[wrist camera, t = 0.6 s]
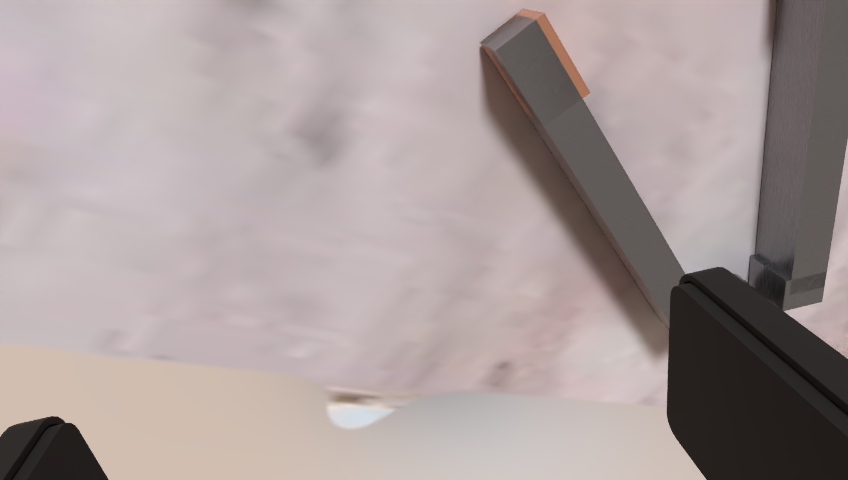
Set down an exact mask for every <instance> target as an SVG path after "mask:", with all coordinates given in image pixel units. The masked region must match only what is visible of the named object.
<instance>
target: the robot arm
mask: <svg viewBox="0 0 848 480" xmlns="http://www.w3.org/2000/svg"><path fill="white" fill-rule="evenodd" d="M667 418H668V422H669V425H670V428H671V430H672V432H673V434H674V435H675V437H676V439H677V440H678V441H679V443H680V444H681V446H682V447H683V448H684V450H685V451H686V452H687V454H688V455H689V456H690V458H691V459H692V460H693V462H694V463H695V464H696V466H697V467H698V469H699V470H700V471H701V473H702V474H703V475H704V477H705V478H706V479H707V480H848V359H847V358H846V357H844V356H843V355H842V354H840V353H839V352H838V351H836V350H835V349H834V348H832V347H831V346H829V345H828V344H827V343H825V342H824V341H823V340H821V339H820V338H819V337H817V336H816V335H815V334H813V333H812V332H811V331H809V330H808V329H807V328H805V327H804V326H802V325H801V324H800V323H798V322H797V321H796V320H794V319H793V318H792V317H790V316H789V315H788V314H786V313H785V312H784V311H782V310H781V309H780V308H778V307H777V306H775V305H774V304H773V303H771V302H770V301H769V300H767V299H766V298H765V297H763V296H762V295H761V294H759V293H758V292H757V291H755V290H754V289H753V288H751V287H750V286H748V285H747V284H746V283H744V282H743V281H742V280H740V279H739V278H738V277H736V276H735V275H734V274H732V273H731V272H730V271H728V270H727V269H725V268H723V267H716V268H711V269H707V270H702V271H698V272H693V273H689V274H685V275H683V276H682V277H681V279H680V281H679V285H678V286H675V287H673V288H672V290H671V294H670V322H669V356H668V390H667ZM0 480H108V478H107V476H106V475H105V473H104V472H103V470H102V468H101V466H100V465H99V463H98V461H97V460H96V458H95V457H94V455H93V453H92V451H91V450H90V448H89V446H88V445H87V443H86V441H85V440H84V438H83V437H82V435H81V433H80V432H79V430H78V429H77V427H76V426H75V425H73V424H72V423H65V422H64V421H63V420H62V419H61V418H59V417H53V416H51V417H47V418H42V419H38V420H34V421H29V422H24V423H20V424H16V425H13V426H11V427H9V428H8V429H7V430H6V431H5V432H4V433H3V434H2V435H1V437H0Z"/></svg>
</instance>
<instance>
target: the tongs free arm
mask: <svg viewBox="0 0 848 480" xmlns="http://www.w3.org/2000/svg"><path fill="white" fill-rule="evenodd" d="M480 43H481V45H482V46H483V48H484V49H485V51H486V52H487V54H488V55H489V57H490V58H491V60H492V62H493V63H494V65H495V66H496V68H497V69H498V71H499V72H500V74H501V75H502V77H503V79H504V80H505V82H506V83H507V85H508V86H509V88H510V89H511V91H512V92H513V94H514V95H515V97H516V99H517V100H518V102H519V103H520V105H521V106H522V108H523V109H524V111H525V112H526V114H527V116H528V117H529V119H530V120H531V122H532V123H533V125H534V126H535V128H536V129H537V131H538V132H539V134H540V136H541V137H542V139H543V140H544V142H545V143H546V145H547V146H548V148H549V149H550V151H551V153H552V154H553V156H554V157H555V159H556V160H557V162H558V163H559V165H560V166H561V168H562V169H563V171H564V173H565V174H566V176H567V177H568V179H569V180H570V182H571V183H572V185H573V186H574V188H575V190H576V191H577V193H578V194H579V196H580V197H581V199H582V200H583V202H584V203H585V205H586V207H587V208H588V210H589V211H590V213H591V214H592V216H593V217H594V219H595V220H596V222H597V223H598V225H599V227H600V228H601V230H602V231H603V233H604V234H605V236H606V237H607V239H608V240H609V242H610V244H611V245H612V247H613V248H614V250H615V251H616V253H617V254H618V256H619V257H620V259H621V260H622V262H623V264H624V265H625V267H626V268H627V270H628V271H629V273H630V274H631V276H632V277H633V279H634V281H635V282H636V284H637V285H638V287H639V288H640V290H641V291H642V293H643V294H644V296H645V297H646V299H647V301H648V302H649V304H650V305H651V307H652V308H653V310H654V311H655V313H656V314H657V316H658V318H659V319H660V320H661V321H662V322H663V323H664V324H665V326H666V327H667V328H668V329H669V322H670V294H671V290H672V288H673V287H675V286H678V285H679V281H680V279H681V277H682V276H683V275H685V273H684V271H683V269H682V268H681V266H680V264H679V262H678V261H677V259H676V257H675V256H674V254H673V252H672V250H671V249H670V247H669V245H668V244H667V242H666V240H665V239H664V237H663V235H662V233H661V232H660V230H659V228H658V227H657V225H656V223H655V221H654V220H653V218H652V216H651V215H650V213H649V211H648V210H647V208H646V206H645V204H644V203H643V201H642V199H641V198H640V196H639V194H638V193H637V191H636V189H635V187H634V186H633V184H632V182H631V181H630V179H629V177H628V175H627V174H626V172H625V170H624V169H623V167H622V165H621V164H620V162H619V160H618V158H617V157H616V155H615V153H614V152H613V150H612V148H611V146H610V145H609V143H608V141H607V140H606V138H605V136H604V135H603V133H602V131H601V129H600V128H599V126H598V124H597V123H596V121H595V119H594V117H593V116H592V114H591V112H590V111H589V109H588V107H587V106H586V104H585V102H584V100H583V99H582V98H584V97H585V96H586V95H588V94H589V93H590V92H589V90H588V88H587V86H586V85H585V83H584V81H583V79H582V78H581V76H580V74H579V72H578V71H577V69H576V67H575V66H574V64H573V62H572V60H571V59H570V57H569V55H568V53H567V52H566V50H565V48H564V46H563V45H562V43H561V41H560V39H559V38H558V36H557V34H556V33H555V31H554V29H553V27H552V26H551V24H550V22H549V20H548V19H547V17H546V15H545V13H541V12H537V11H532V10H527V9H522V10H521V11H520V12H519V13H517V14H516V15H515V16H513V17H512V18H511V19H510V20H508V21H507V22H506V23H505V24H503V25H502V26H501V27H499V28H498V29H497V30H496V31H494V32H493V33H492V34H490V35H489V36H488V37H487V38H485V39H484V40H483V41H481V42H480ZM734 275H735V276H736V277H738V278H739V279H740V280H742V281H743V282H744V283H746V284H747V285H748V286H750V287H751V288H753V289H754V290H755V291H757V290H756V289H755V288H754V287H752V286H751V285H750V284H748V283H747V282H746V281H745V280H743V279H742V278H741V277H739V276H738V275H736V274H734ZM757 292H758V293H759V294H761V293H760V292H759V291H757ZM761 295H762V294H761ZM762 296H763V297H765V296H764V295H762ZM765 298H766V297H765ZM766 299H767V300H769V299H768V298H766ZM769 301H770V300H769ZM770 302H771V301H770ZM771 303H773V302H771ZM773 304H774V303H773ZM774 305H775V304H774ZM775 306H777V305H775ZM777 307H778V306H777ZM778 308H779V307H778Z"/></svg>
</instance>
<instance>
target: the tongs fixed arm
mask: <svg viewBox="0 0 848 480" xmlns="http://www.w3.org/2000/svg"><path fill="white" fill-rule="evenodd" d="M847 139H848V0H777V11H776V22H775V34H774V45H773V57H772V69H771V80H770V92H769V103H768V115H767V126H766V138H765V149H764V161H763V173H762V184H761V196H760V207H759V219H758V230H757V242H756V253H755V255H753V256H750V268H749V281H748V284H750V285H751V286H752V287H754V288H755V289H756V290H757V291H759V292H760V293H761V294H762V295H764V296H765V297H766V298H768V299H769V300H770V301H771V302H773V303H774V304H775V305H777V306H778V307H779V308H780V309H781V310H782V311H786V310H790V309H794V308H798V307H802V306H806V305H811V304H815V303H819V302H822V298H823V292H824V285H825V279H826V273H827V266H828V260H829V254H830V247H831V241H832V234H833V228H834V222H835V215H836V209H837V202H838V196H839V190H840V183H841V177H842V171H843V164H844V158H845V151H846V145H847Z"/></svg>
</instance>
